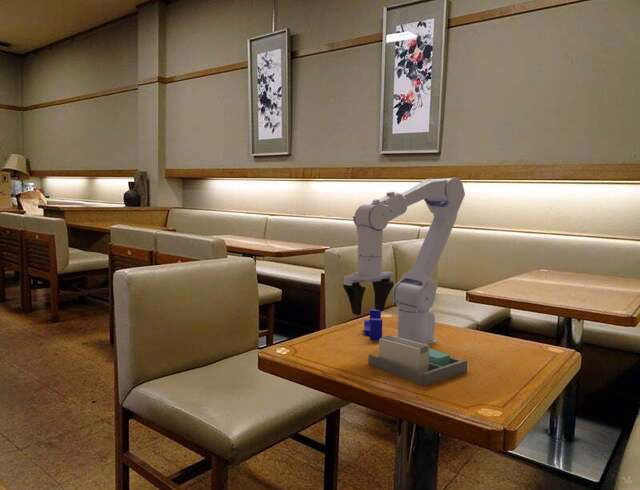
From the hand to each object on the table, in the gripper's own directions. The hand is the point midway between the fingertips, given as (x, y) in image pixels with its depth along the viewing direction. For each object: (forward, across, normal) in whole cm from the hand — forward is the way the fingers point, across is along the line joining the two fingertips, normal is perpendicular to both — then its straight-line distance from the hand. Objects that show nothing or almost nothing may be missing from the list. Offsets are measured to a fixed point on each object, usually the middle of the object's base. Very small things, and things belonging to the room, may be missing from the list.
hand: (368, 312), depth 115 cm
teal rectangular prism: (+9, -4, +14) cm, 18 cm away
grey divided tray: (+10, 0, +14) cm, 18 cm away
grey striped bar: (+9, +3, +14) cm, 17 cm away
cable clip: (+10, -12, -10) cm, 18 cm away
